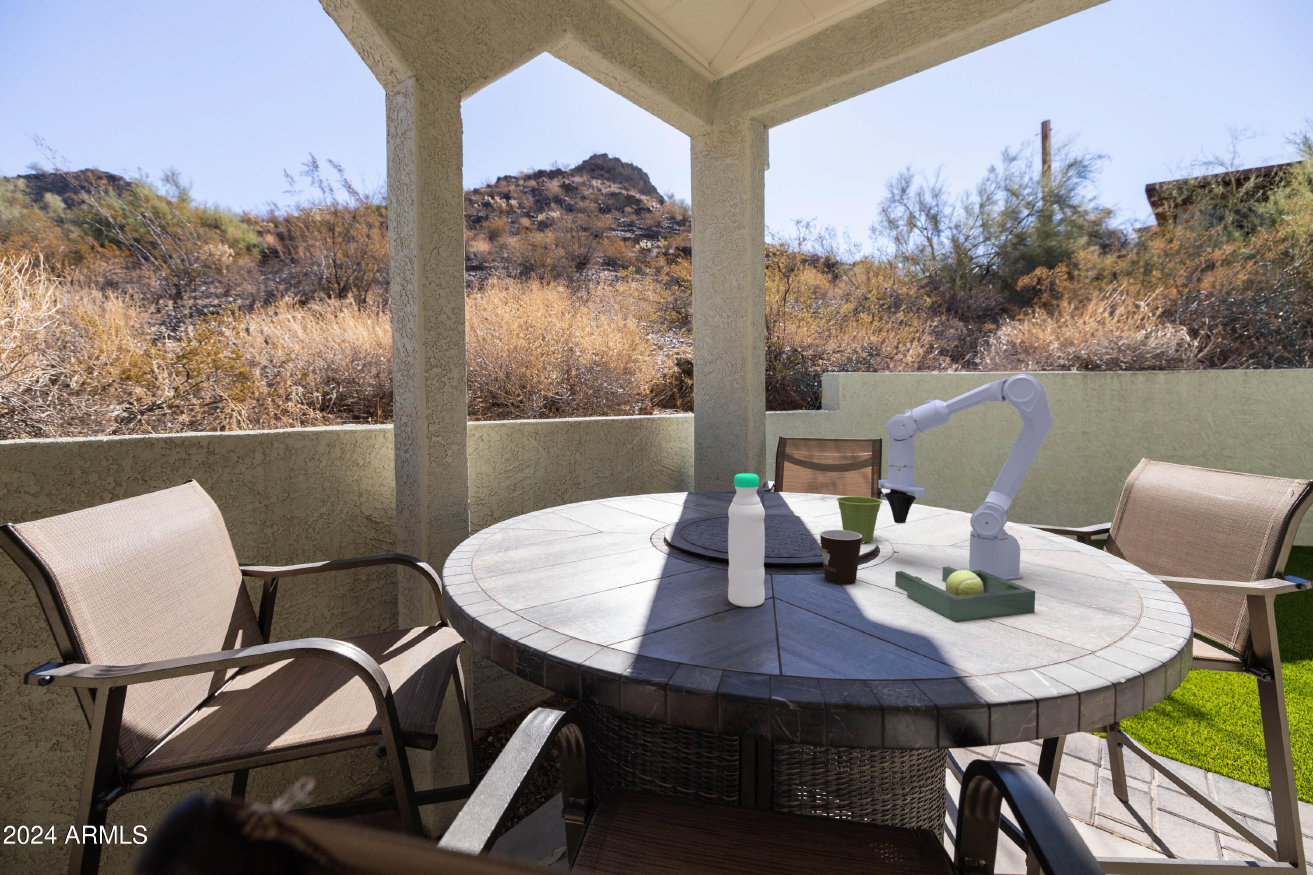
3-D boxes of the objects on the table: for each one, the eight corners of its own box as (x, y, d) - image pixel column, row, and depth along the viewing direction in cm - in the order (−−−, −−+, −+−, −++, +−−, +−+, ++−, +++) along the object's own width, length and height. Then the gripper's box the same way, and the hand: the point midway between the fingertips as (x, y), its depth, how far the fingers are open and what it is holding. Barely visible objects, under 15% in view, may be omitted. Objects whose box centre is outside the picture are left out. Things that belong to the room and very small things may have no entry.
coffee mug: (864, 587, 121) (864, 540, 120) (820, 585, 122) (821, 538, 122) (856, 570, 132) (857, 527, 131) (817, 568, 134) (817, 526, 133)
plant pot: (888, 546, 153) (889, 503, 152) (843, 546, 153) (843, 504, 152) (872, 535, 164) (873, 495, 164) (830, 535, 165) (830, 495, 164)
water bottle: (767, 597, 116) (767, 472, 114) (761, 609, 109) (762, 477, 107) (732, 593, 118) (732, 471, 116) (724, 605, 112) (724, 476, 110)
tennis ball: (990, 573, 108) (968, 562, 115) (955, 579, 108) (936, 568, 115) (993, 606, 109) (971, 593, 116) (959, 612, 109) (939, 599, 115)
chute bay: (956, 579, 126) (956, 561, 125) (1034, 612, 107) (1035, 590, 106) (886, 586, 122) (887, 567, 121) (955, 621, 103) (955, 599, 102)
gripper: (867, 462, 143) (866, 517, 144) (906, 470, 129) (905, 530, 130) (893, 461, 145) (891, 515, 146) (933, 469, 131) (932, 528, 132)
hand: (899, 522), depth 138 cm, fingers closed
